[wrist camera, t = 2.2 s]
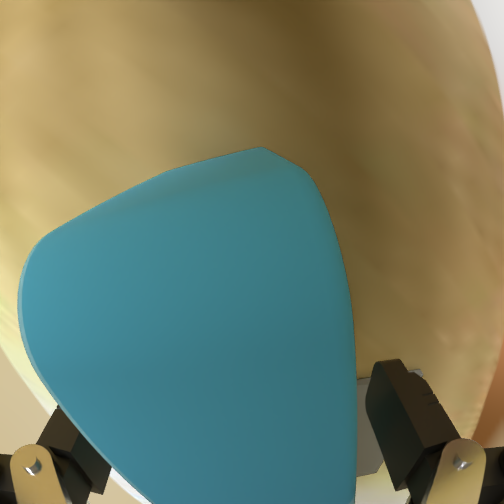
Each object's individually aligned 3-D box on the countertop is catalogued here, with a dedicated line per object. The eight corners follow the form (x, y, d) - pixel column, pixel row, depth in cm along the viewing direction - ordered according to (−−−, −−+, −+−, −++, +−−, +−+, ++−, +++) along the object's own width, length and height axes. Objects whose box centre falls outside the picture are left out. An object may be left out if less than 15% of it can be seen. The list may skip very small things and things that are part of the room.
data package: (307, 353, 18) (352, 544, 7) (233, 368, 18) (227, 560, 7) (264, 144, 14) (340, 175, 3) (169, 168, 14) (-24, 277, 3)
